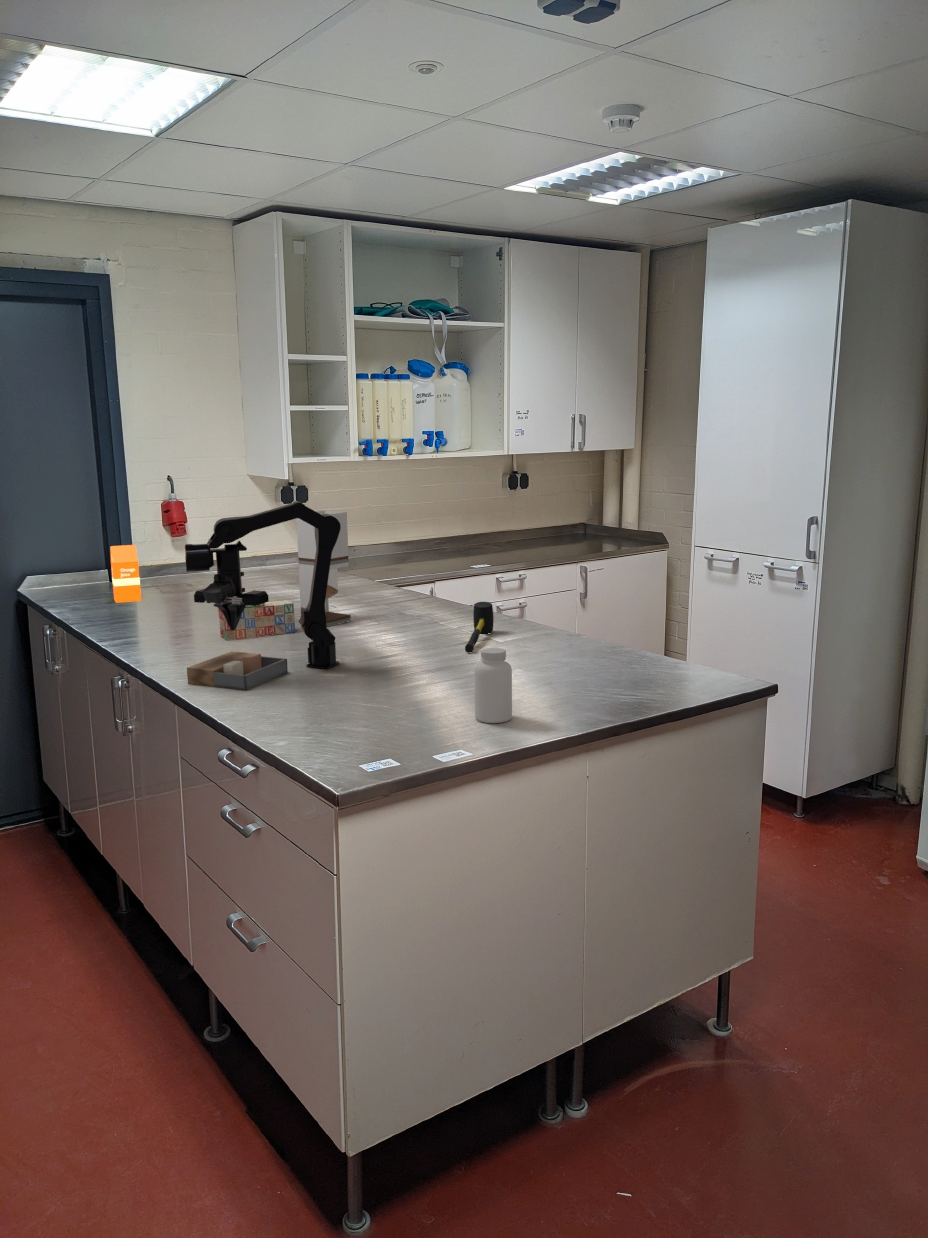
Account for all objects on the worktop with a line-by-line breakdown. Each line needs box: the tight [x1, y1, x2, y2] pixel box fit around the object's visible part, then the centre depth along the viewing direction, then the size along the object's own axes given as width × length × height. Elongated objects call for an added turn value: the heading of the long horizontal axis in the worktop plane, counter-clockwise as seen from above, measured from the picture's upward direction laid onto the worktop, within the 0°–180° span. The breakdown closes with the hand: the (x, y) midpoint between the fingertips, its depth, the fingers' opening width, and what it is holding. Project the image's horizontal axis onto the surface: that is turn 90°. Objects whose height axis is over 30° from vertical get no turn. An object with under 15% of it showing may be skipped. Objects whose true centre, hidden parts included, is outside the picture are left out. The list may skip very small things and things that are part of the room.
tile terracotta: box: [242, 652, 262, 675], centre depth 239 cm, size 4×4×2 cm
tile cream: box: [223, 661, 244, 675], centre depth 231 cm, size 4×4×2 cm
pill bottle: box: [473, 647, 513, 724], centre depth 200 cm, size 8×8×15 cm
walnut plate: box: [186, 650, 252, 688], centre depth 238 cm, size 8×18×4 cm, turn 157°
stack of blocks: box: [217, 599, 296, 641], centre depth 284 cm, size 21×6×12 cm, turn 118°
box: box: [214, 655, 289, 691], centre depth 234 cm, size 9×18×4 cm, turn 157°
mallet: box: [464, 601, 495, 653], centre depth 272 cm, size 29×6×10 cm, turn 170°
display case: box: [296, 510, 352, 627], centre depth 298 cm, size 11×11×35 cm
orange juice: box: [109, 544, 142, 604], centre depth 342 cm, size 8×9×20 cm
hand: (233, 630), depth 239 cm, fingers closed
